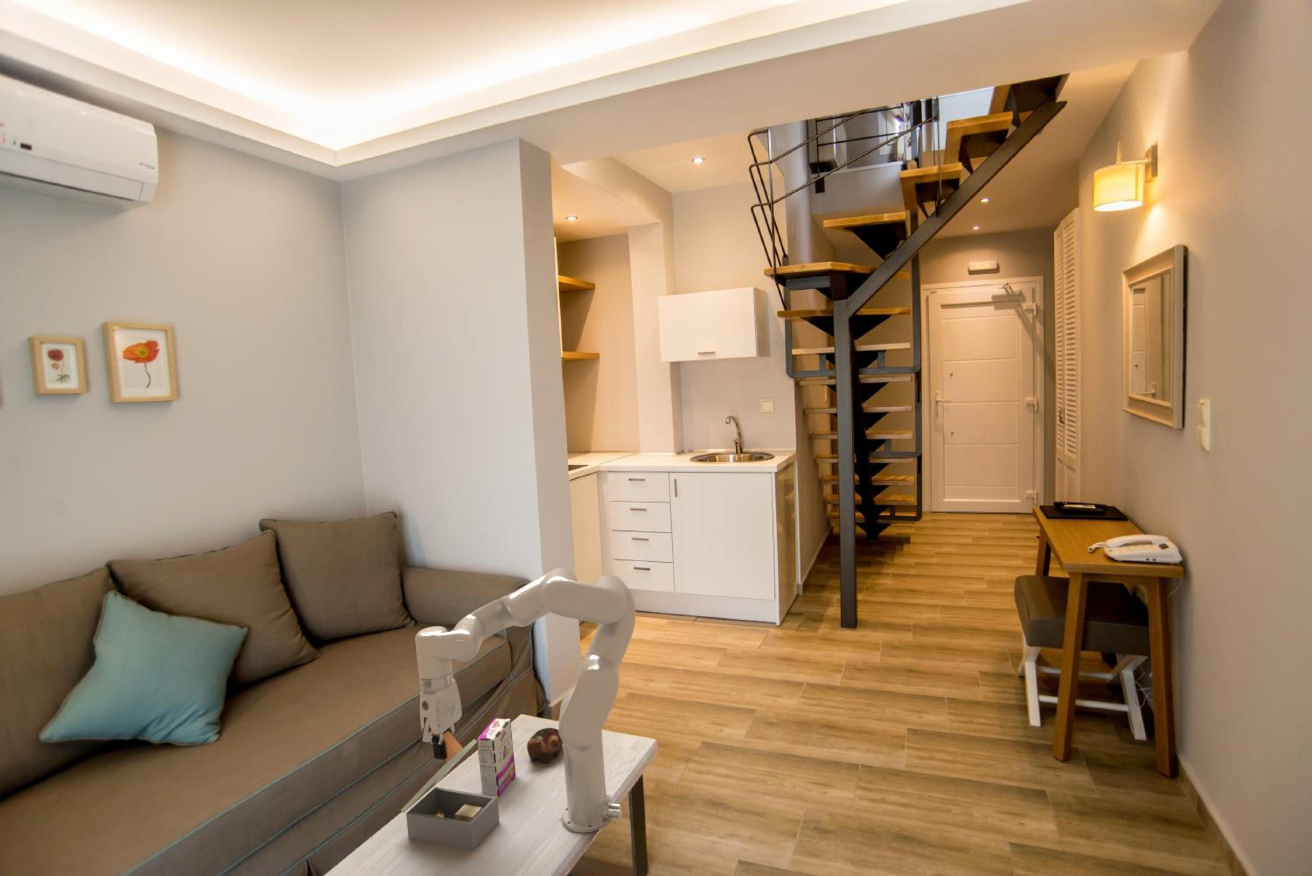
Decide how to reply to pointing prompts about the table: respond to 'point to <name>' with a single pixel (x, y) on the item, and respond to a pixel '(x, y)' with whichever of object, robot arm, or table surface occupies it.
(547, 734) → the decorative turtle
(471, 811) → the birch block
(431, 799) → the parts tub
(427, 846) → the table surface
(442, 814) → the brass cylinder
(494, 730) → the candy bar box
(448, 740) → the lid
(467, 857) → the table surface
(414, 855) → the table surface
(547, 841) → the table surface
